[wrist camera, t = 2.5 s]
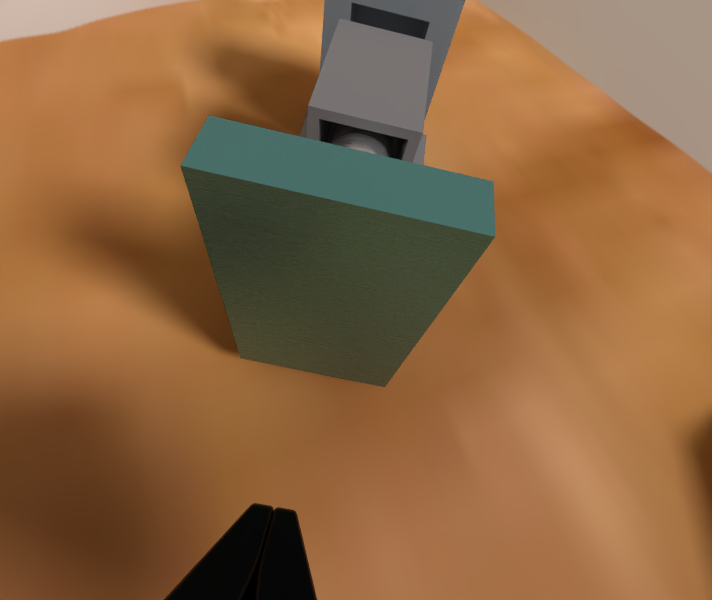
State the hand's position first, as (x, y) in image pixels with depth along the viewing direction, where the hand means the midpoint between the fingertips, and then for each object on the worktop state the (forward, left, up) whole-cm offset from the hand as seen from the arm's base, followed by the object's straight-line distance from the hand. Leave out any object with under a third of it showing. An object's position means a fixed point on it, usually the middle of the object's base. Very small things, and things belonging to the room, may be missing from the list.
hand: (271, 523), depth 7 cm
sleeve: (+12, +9, -8) cm, 17 cm away
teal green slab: (+10, +7, -7) cm, 14 cm away
